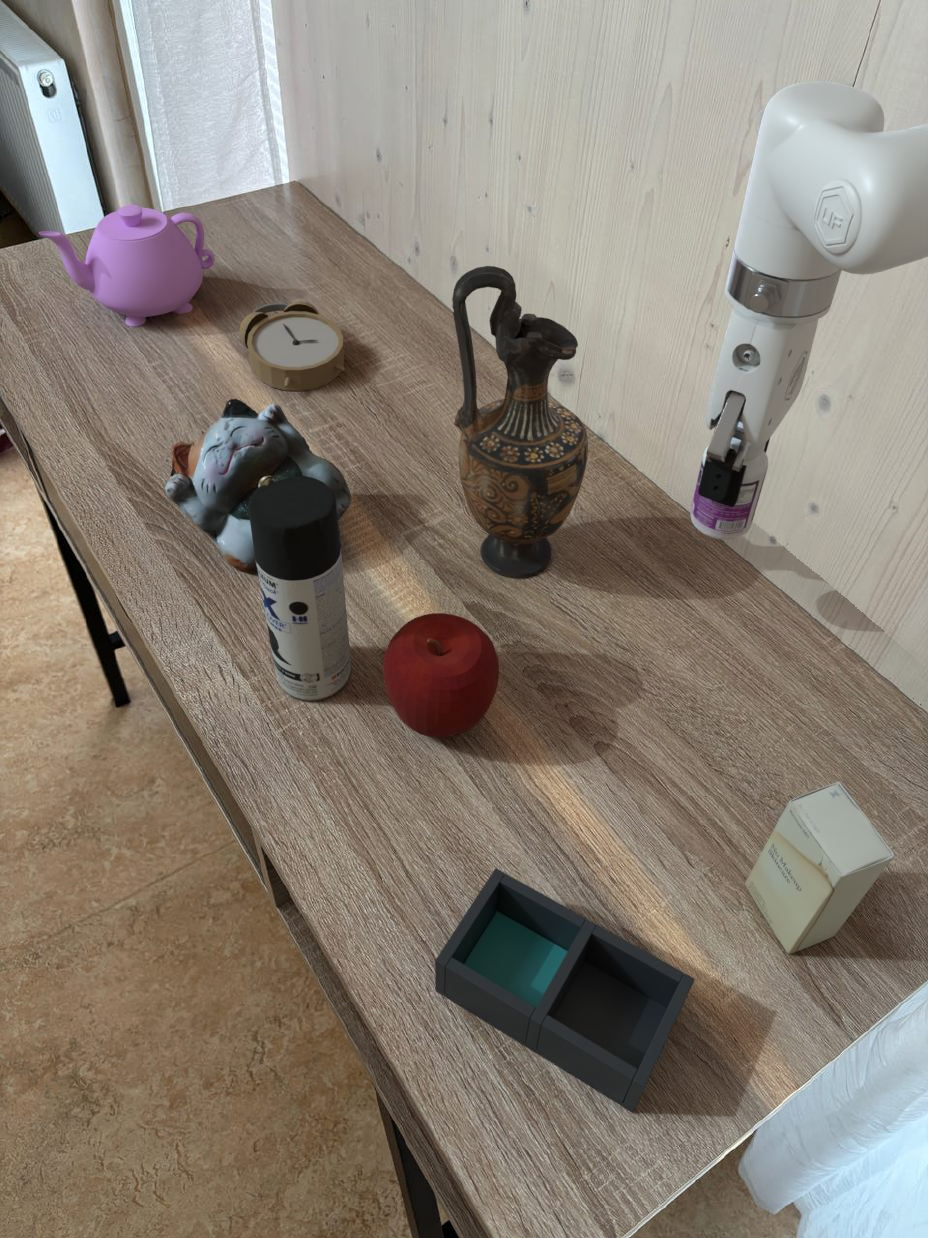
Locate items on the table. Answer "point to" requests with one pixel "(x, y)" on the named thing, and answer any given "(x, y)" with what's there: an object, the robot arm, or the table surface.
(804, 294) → the robot arm
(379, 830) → the table surface
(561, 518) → the vase
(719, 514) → the pill bottle
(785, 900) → the cosmetic box
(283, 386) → the alarm clock
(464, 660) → the apple
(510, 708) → the table surface
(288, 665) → the spray can
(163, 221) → the teapot
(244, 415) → the lucky cat figurine
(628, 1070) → the holder
